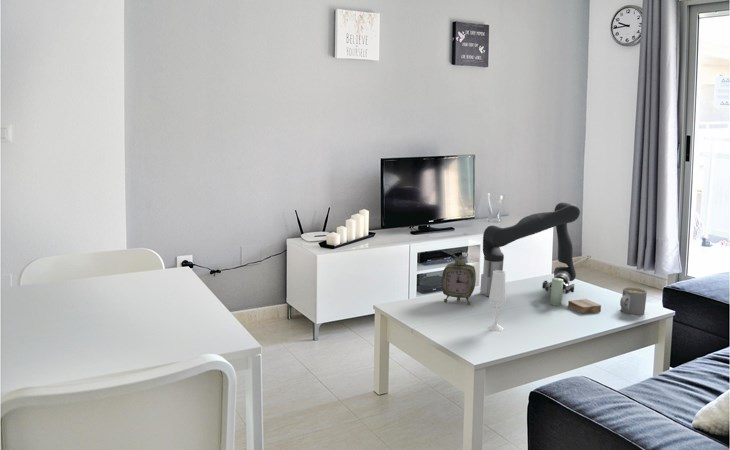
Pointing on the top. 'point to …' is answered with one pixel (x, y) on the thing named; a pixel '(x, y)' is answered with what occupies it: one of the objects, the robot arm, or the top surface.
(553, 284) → the candle
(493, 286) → the champagne flute
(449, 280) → the tabletop clock
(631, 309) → the coffee mug
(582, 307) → the walnut block
